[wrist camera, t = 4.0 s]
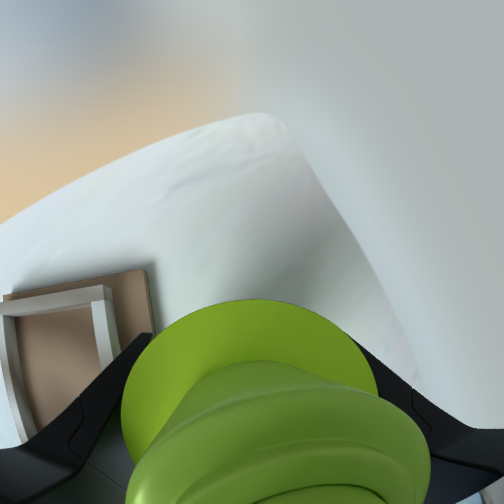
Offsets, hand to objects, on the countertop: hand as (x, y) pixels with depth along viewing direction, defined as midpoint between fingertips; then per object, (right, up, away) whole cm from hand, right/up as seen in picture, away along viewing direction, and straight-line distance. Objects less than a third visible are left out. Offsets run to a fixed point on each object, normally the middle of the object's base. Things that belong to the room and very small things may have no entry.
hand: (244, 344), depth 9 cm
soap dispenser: (-1, -4, +9) cm, 10 cm away
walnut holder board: (-12, -10, +6) cm, 17 cm away
